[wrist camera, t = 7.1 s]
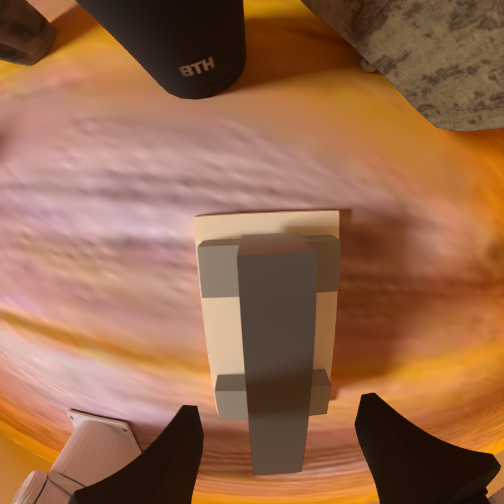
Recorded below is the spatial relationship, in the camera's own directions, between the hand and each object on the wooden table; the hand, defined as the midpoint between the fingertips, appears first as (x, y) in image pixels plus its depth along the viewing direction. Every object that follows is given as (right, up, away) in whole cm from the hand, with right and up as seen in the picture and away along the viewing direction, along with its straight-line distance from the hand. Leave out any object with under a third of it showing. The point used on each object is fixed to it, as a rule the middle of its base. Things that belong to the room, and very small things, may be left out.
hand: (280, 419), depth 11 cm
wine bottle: (-5, +20, +5) cm, 22 cm away
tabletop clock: (+8, +22, +5) cm, 24 cm away
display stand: (0, +2, +9) cm, 9 cm away
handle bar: (0, +1, +6) cm, 6 cm away
